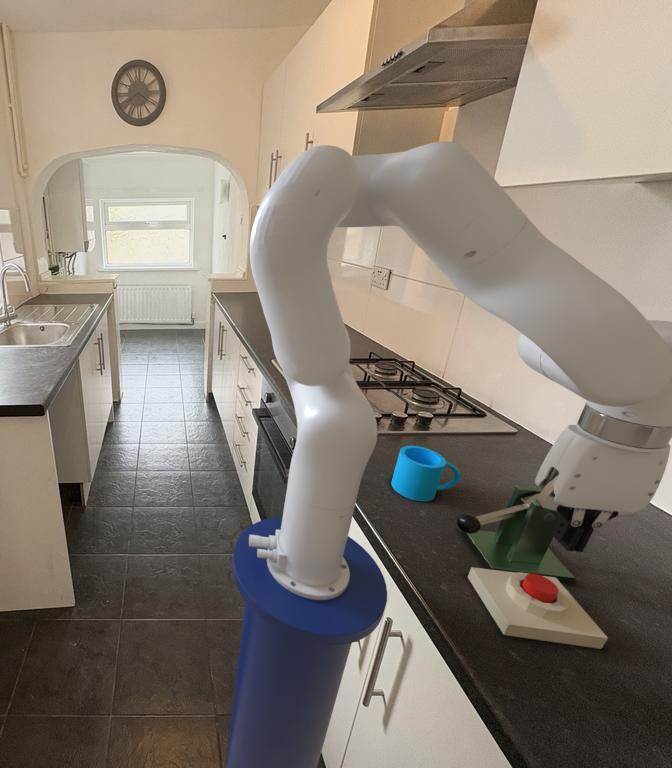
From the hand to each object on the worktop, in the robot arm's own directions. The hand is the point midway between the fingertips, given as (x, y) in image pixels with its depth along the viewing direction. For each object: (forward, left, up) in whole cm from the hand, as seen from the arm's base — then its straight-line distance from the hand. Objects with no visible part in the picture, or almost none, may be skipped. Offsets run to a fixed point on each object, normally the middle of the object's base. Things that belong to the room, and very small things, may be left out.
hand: (566, 543), depth 56 cm
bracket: (+4, +11, -13) cm, 17 cm away
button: (0, 0, -9) cm, 9 cm away
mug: (-4, +28, -13) cm, 31 cm away
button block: (0, 0, -13) cm, 13 cm away
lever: (0, +11, -6) cm, 13 cm away
